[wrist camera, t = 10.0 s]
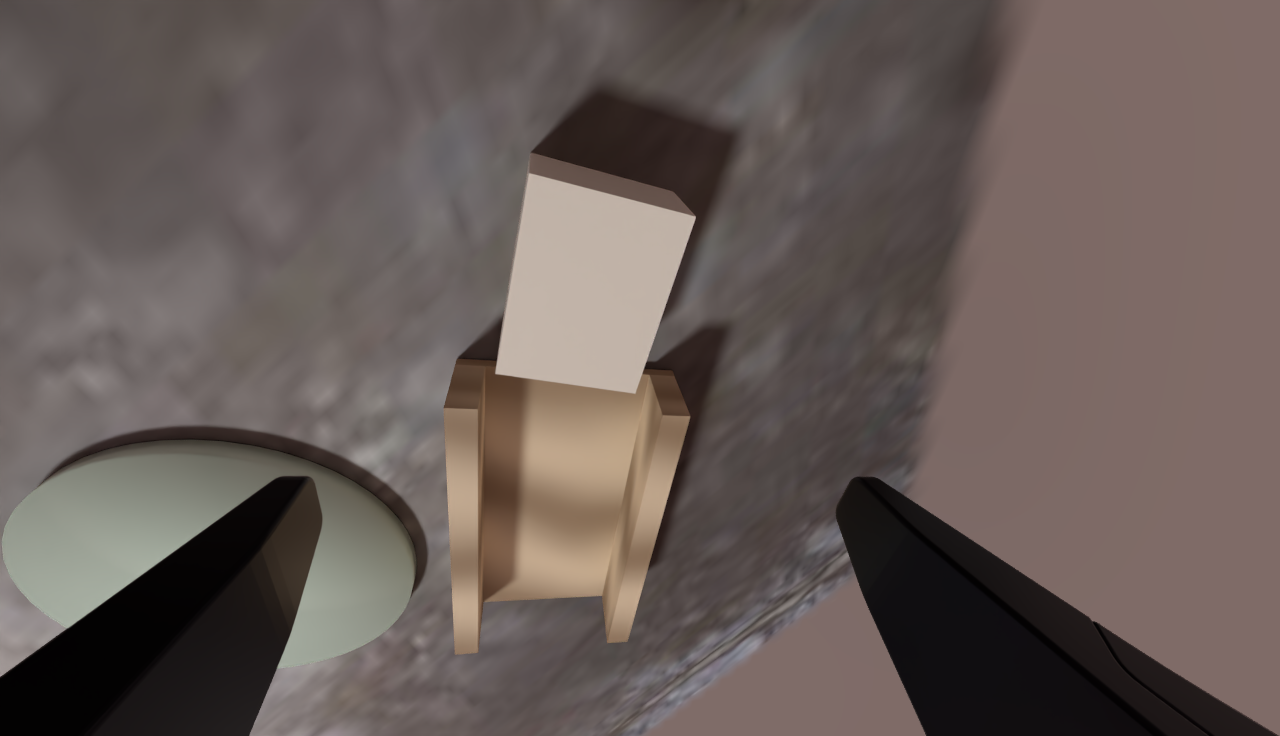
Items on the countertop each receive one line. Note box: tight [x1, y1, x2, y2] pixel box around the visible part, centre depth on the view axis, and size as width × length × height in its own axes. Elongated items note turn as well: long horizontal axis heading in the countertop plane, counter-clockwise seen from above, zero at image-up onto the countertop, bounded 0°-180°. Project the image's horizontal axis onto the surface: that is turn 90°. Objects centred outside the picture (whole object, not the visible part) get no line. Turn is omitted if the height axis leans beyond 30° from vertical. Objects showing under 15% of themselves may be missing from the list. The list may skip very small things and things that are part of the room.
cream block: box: [495, 153, 696, 394], centre depth 15 cm, size 6×4×3 cm
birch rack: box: [444, 359, 691, 654], centre depth 21 cm, size 14×8×3 cm, turn 170°
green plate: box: [2, 439, 417, 669], centre depth 21 cm, size 14×14×1 cm
